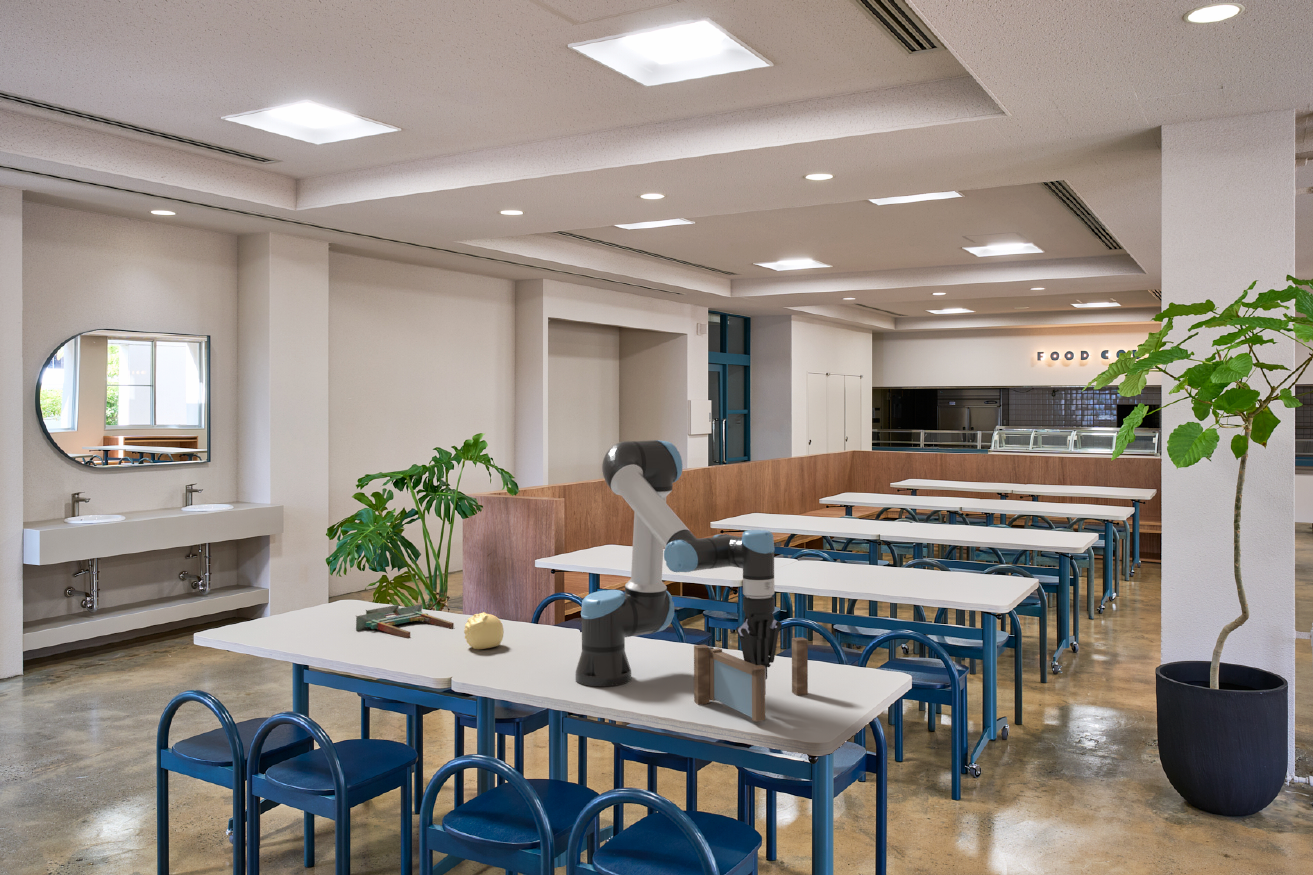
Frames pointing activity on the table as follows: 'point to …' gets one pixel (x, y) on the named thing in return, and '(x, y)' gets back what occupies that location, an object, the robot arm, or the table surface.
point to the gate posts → (704, 670)
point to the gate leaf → (737, 684)
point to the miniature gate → (396, 619)
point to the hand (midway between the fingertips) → (759, 693)
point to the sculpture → (483, 631)
